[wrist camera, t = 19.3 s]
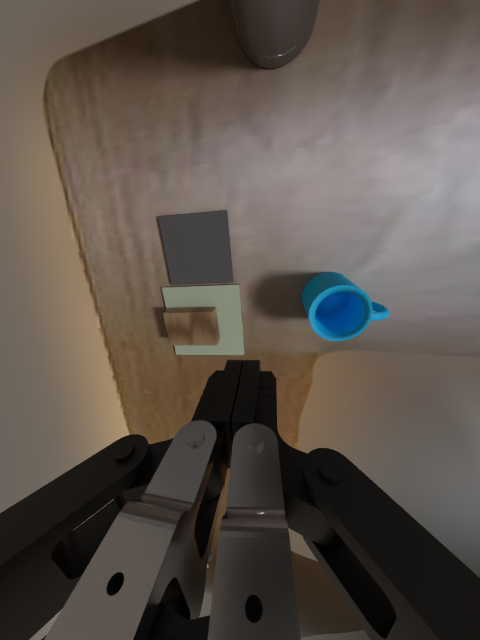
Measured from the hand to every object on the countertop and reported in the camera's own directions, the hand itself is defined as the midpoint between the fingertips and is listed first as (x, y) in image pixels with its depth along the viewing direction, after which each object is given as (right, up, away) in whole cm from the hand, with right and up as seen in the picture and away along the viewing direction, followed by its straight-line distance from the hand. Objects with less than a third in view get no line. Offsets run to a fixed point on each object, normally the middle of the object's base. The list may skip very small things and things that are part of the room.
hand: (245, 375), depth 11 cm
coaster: (-7, +14, +27) cm, 31 cm away
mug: (+16, +6, +27) cm, 32 cm away
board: (-7, +2, +32) cm, 33 cm away
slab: (-4, +1, +30) cm, 30 cm away
